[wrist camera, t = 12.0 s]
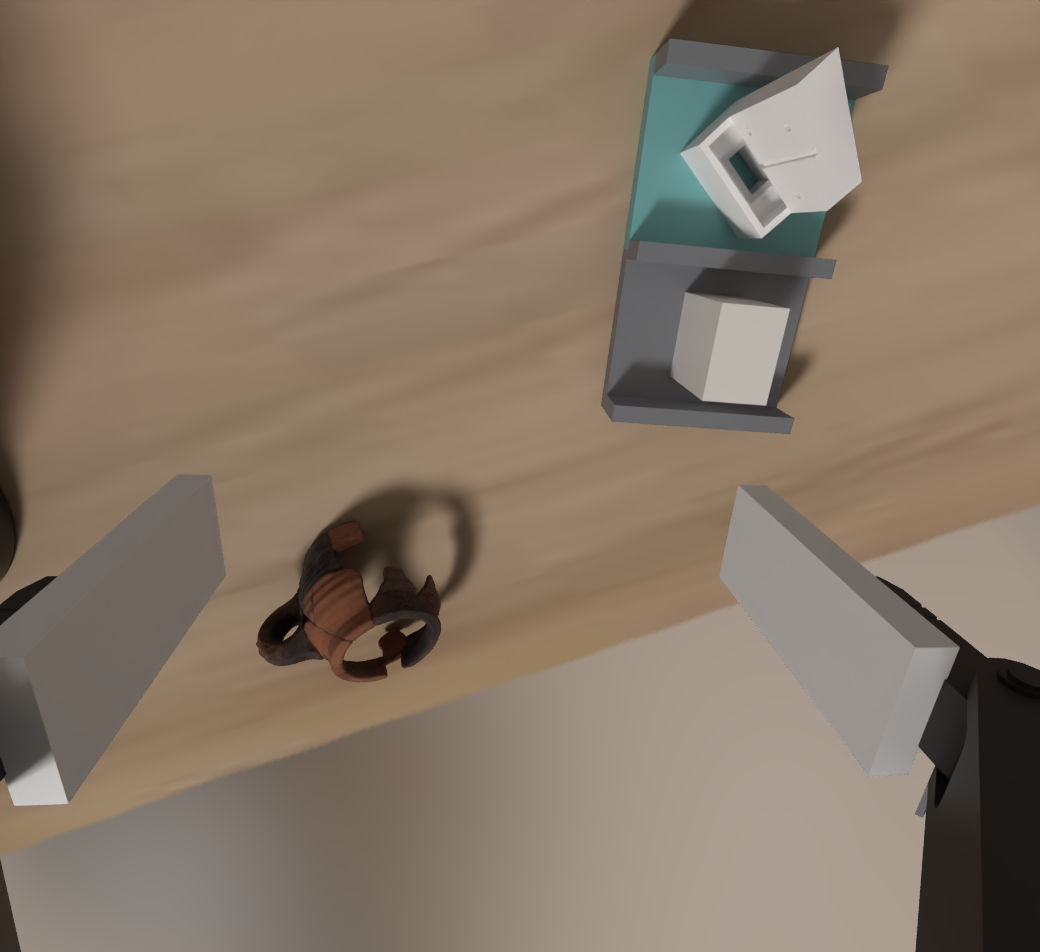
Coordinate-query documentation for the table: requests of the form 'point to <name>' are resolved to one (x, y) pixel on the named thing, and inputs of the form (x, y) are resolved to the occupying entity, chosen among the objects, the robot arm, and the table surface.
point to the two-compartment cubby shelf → (703, 238)
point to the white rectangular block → (728, 347)
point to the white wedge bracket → (780, 149)
